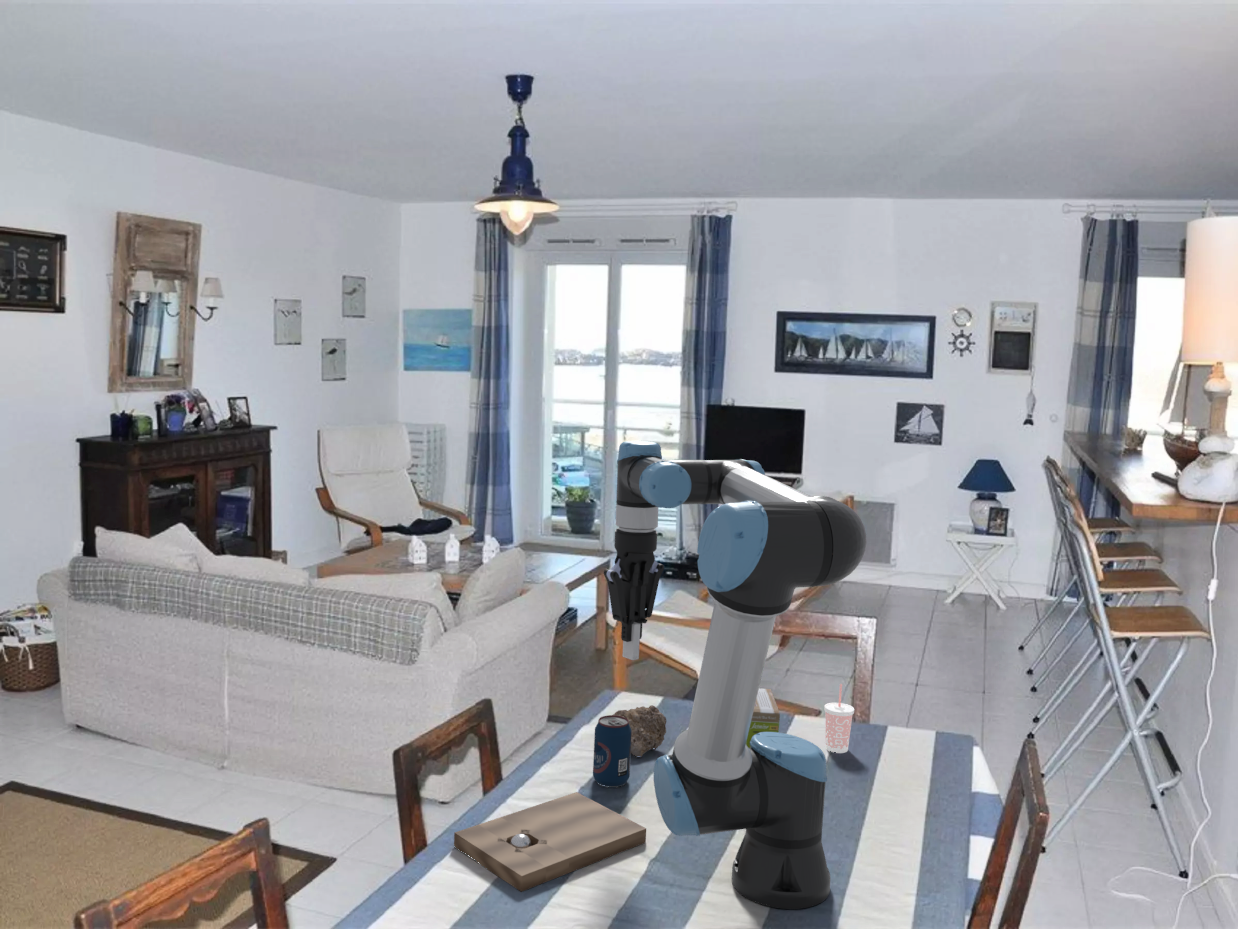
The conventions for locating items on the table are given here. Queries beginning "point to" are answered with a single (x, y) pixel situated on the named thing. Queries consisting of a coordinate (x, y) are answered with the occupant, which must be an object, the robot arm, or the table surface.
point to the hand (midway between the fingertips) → (630, 657)
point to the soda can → (612, 751)
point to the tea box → (764, 715)
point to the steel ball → (520, 841)
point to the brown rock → (645, 728)
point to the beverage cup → (838, 725)
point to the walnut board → (549, 840)
